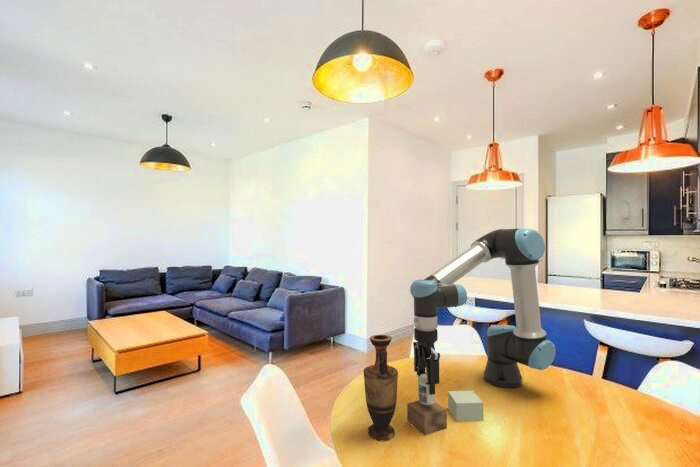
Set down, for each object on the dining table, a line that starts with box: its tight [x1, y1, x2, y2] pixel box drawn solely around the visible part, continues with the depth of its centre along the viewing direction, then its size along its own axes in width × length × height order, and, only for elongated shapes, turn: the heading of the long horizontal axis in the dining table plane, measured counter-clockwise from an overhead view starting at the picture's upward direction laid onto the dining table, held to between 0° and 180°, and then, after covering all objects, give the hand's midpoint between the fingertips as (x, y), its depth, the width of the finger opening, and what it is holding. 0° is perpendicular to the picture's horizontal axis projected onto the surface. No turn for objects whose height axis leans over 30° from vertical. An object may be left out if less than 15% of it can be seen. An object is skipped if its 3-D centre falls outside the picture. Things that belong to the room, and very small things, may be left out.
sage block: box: [447, 390, 484, 422], centre depth 118 cm, size 9×9×6 cm
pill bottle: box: [418, 374, 431, 405], centre depth 112 cm, size 5×5×8 cm
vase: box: [363, 334, 399, 441], centre depth 107 cm, size 11×11×30 cm
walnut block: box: [406, 399, 448, 436], centre depth 112 cm, size 9×9×6 cm
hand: (426, 399), depth 112 cm, fingers closed on pill bottle, 5 cm apart
